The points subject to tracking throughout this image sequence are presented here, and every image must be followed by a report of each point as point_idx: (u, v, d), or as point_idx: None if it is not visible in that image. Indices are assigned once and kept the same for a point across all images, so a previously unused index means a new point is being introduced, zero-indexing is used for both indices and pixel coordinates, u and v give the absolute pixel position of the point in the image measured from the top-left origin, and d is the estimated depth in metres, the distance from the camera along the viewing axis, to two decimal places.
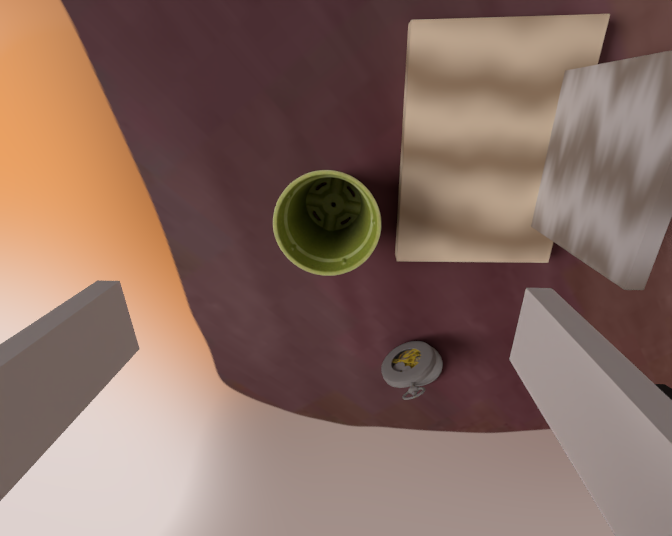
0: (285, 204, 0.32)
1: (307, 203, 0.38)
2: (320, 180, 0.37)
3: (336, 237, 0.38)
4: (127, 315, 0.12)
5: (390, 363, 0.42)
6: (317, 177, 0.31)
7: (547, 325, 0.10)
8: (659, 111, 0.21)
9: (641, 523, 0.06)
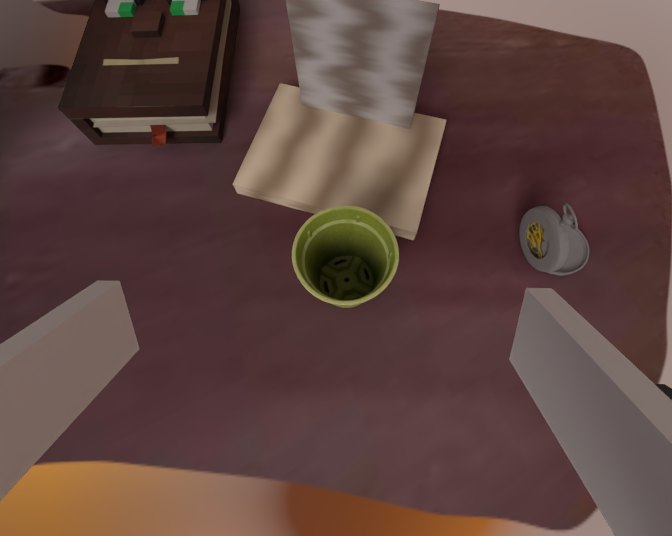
0: (316, 291, 0.32)
1: None
2: (321, 285, 0.39)
3: (376, 279, 0.37)
4: (127, 315, 0.12)
5: (542, 259, 0.35)
6: (303, 256, 0.33)
7: (546, 325, 0.10)
8: (318, 14, 0.34)
9: (641, 523, 0.06)
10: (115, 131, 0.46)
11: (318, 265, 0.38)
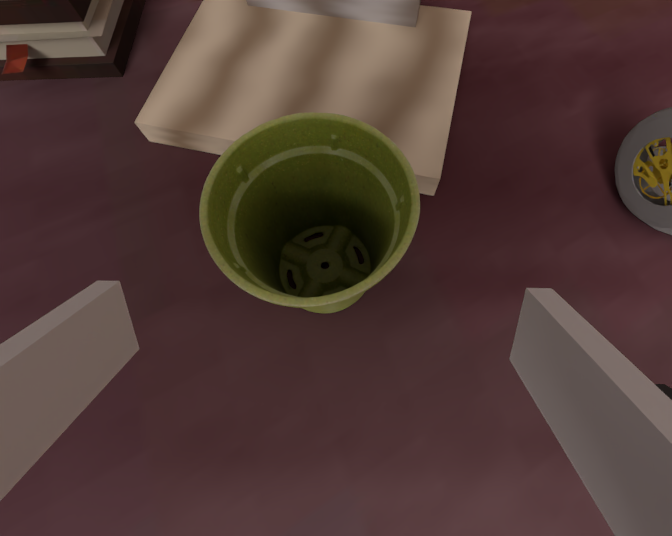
0: (253, 281, 0.15)
1: None
2: (282, 277, 0.23)
3: (375, 260, 0.21)
4: (127, 315, 0.12)
5: None
6: (230, 217, 0.17)
7: (546, 325, 0.10)
8: None
9: (641, 523, 0.06)
10: None
11: (273, 242, 0.22)
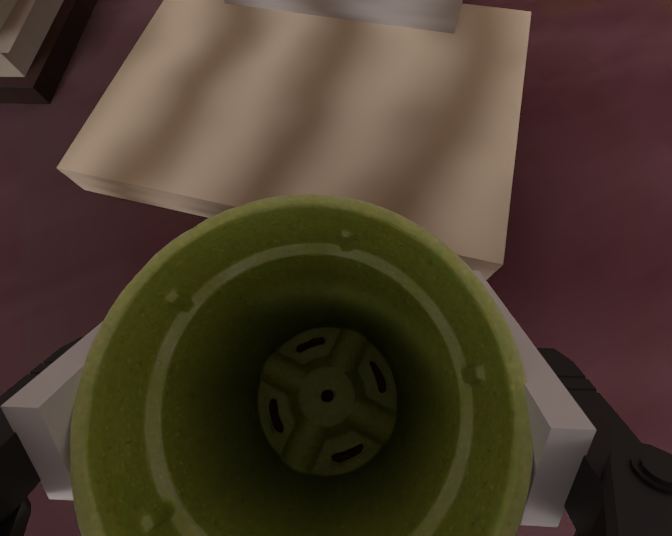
0: None
1: (307, 470, 0.14)
2: (262, 412, 0.15)
3: (408, 406, 0.13)
4: None
5: None
6: (154, 385, 0.09)
7: None
8: None
9: None
10: None
11: (248, 366, 0.14)
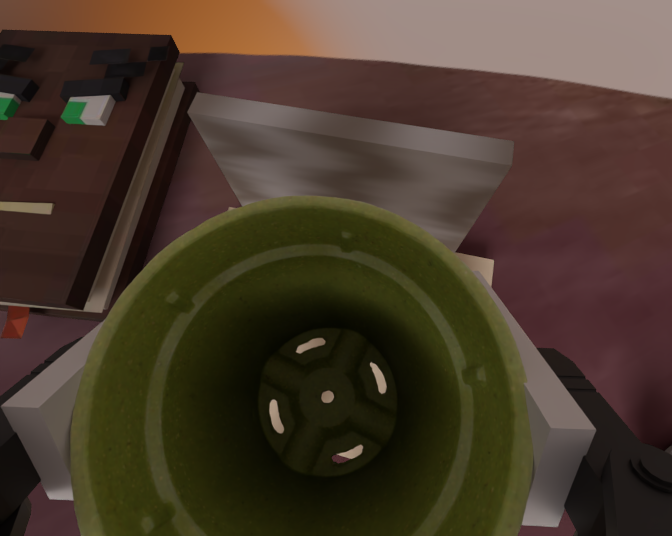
0: None
1: (307, 470, 0.14)
2: (262, 413, 0.15)
3: (409, 407, 0.13)
4: None
5: None
6: (155, 386, 0.09)
7: None
8: (265, 153, 0.17)
9: None
10: None
11: (248, 367, 0.14)
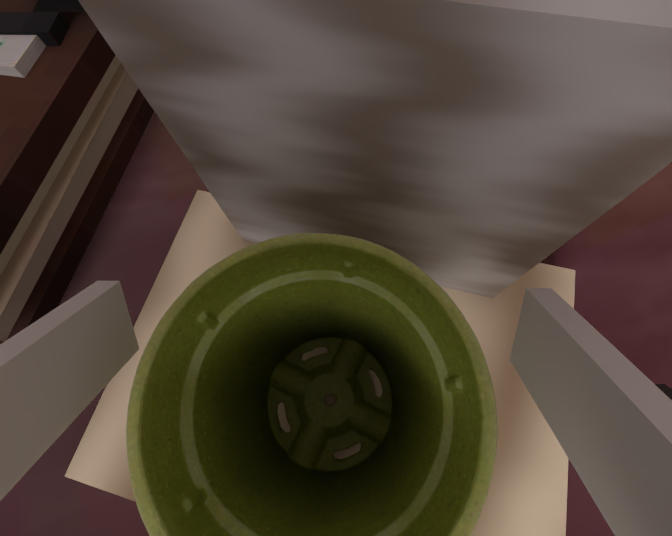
0: (216, 528, 0.09)
1: (311, 465, 0.16)
2: (271, 414, 0.17)
3: (402, 409, 0.15)
4: (127, 315, 0.12)
5: None
6: (187, 392, 0.11)
7: (546, 325, 0.10)
8: (220, 61, 0.09)
9: (641, 523, 0.06)
10: None
11: (259, 373, 0.16)
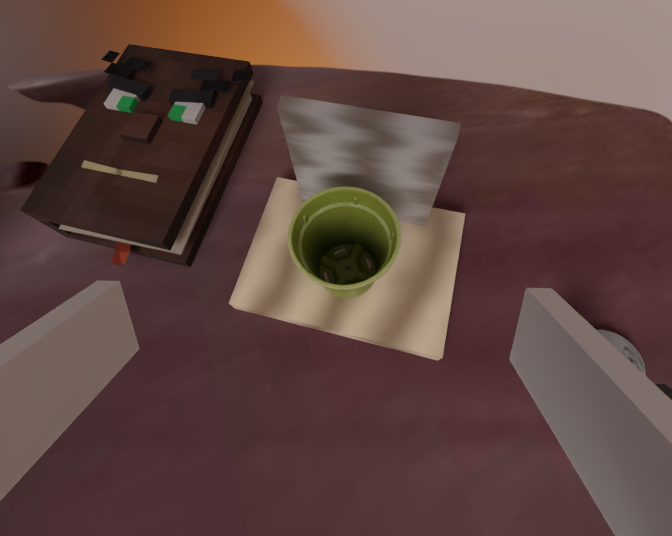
0: None
1: (340, 295, 0.36)
2: (321, 276, 0.37)
3: (378, 266, 0.35)
4: (127, 315, 0.12)
5: None
6: (299, 243, 0.31)
7: (547, 325, 0.10)
8: (318, 131, 0.29)
9: (641, 523, 0.06)
10: None
11: (317, 255, 0.36)
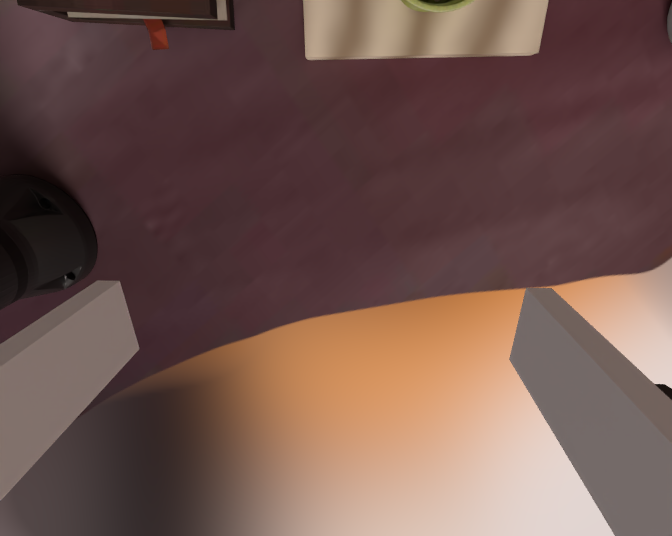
0: None
1: None
2: None
3: None
4: (127, 315, 0.12)
5: None
6: None
7: (547, 325, 0.10)
8: None
9: (641, 523, 0.06)
10: None
11: None
